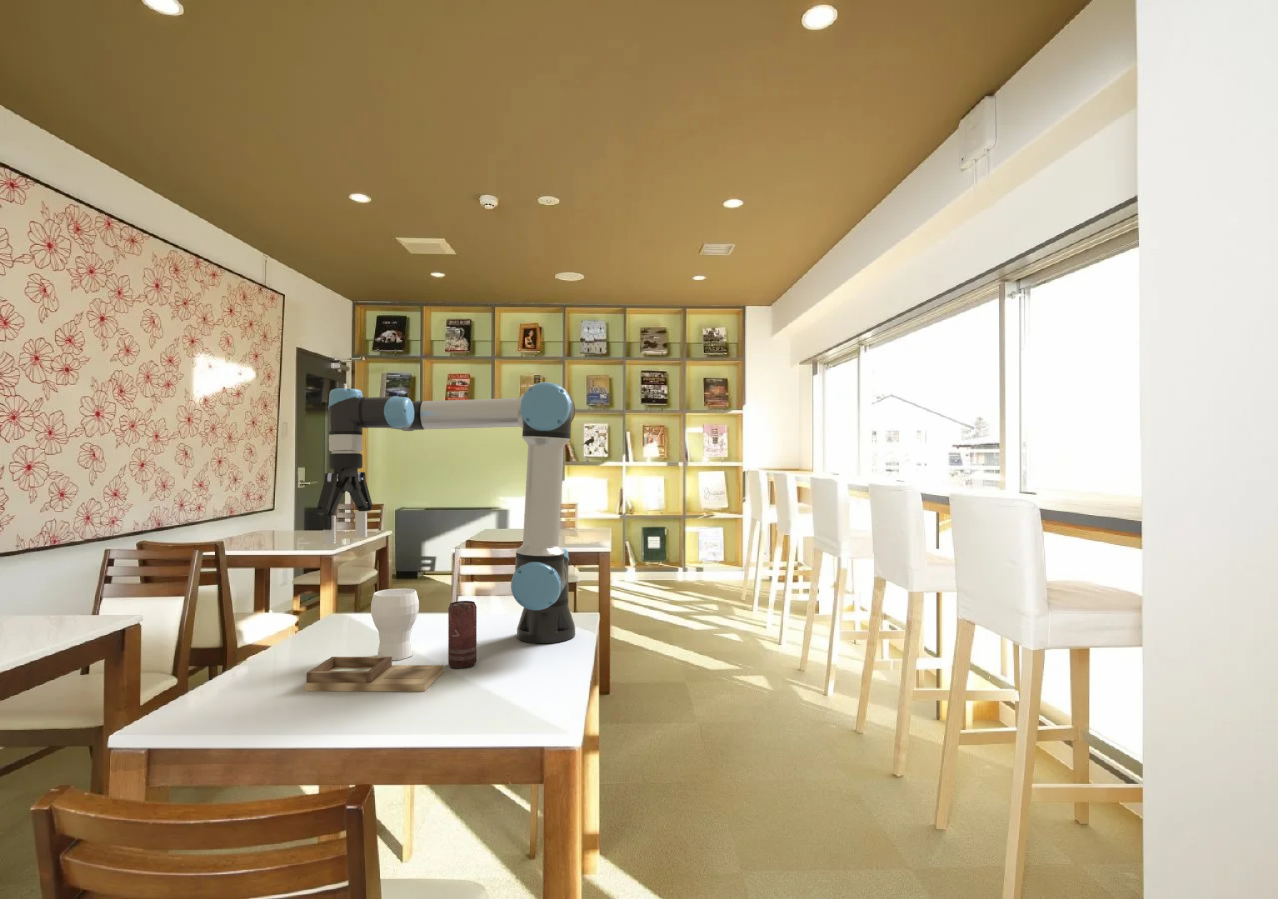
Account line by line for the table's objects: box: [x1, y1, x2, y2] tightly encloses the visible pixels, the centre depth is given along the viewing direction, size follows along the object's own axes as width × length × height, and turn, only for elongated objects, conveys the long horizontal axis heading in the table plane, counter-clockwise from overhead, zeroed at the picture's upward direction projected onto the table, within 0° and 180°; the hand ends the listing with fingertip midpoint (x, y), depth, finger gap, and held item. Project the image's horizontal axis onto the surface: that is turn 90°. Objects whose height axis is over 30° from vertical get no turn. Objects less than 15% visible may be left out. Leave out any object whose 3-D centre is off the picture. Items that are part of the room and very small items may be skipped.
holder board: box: [304, 656, 444, 692], centre depth 140 cm, size 24×12×4 cm, turn 89°
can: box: [447, 600, 478, 670], centre depth 151 cm, size 6×6×14 cm
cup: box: [370, 588, 420, 661], centre depth 158 cm, size 11×11×15 cm
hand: (346, 540), depth 162 cm, fingers open, 13 cm apart
